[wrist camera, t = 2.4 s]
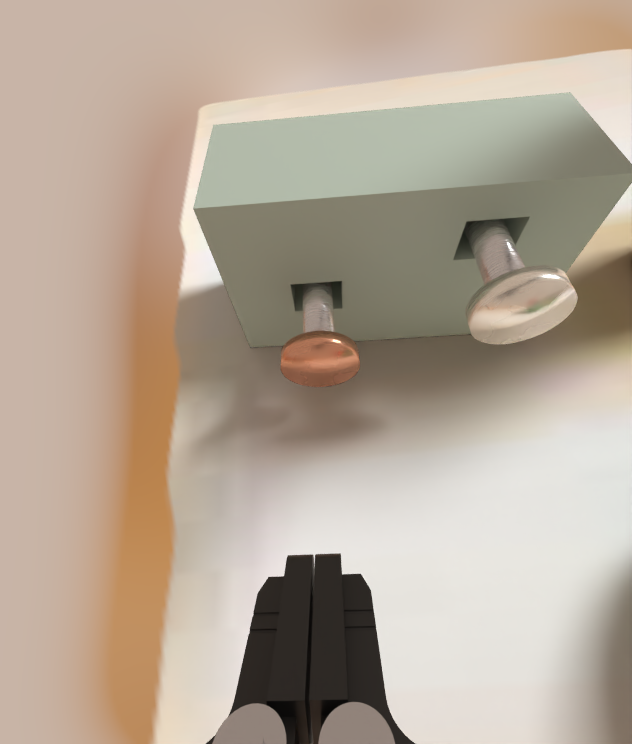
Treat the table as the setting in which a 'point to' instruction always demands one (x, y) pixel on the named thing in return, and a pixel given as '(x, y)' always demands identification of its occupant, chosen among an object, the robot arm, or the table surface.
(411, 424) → the table surface
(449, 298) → the console
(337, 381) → the plunger terracotta
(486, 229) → the plunger cream
